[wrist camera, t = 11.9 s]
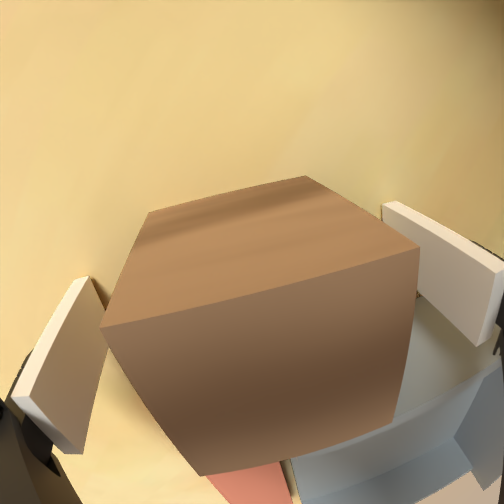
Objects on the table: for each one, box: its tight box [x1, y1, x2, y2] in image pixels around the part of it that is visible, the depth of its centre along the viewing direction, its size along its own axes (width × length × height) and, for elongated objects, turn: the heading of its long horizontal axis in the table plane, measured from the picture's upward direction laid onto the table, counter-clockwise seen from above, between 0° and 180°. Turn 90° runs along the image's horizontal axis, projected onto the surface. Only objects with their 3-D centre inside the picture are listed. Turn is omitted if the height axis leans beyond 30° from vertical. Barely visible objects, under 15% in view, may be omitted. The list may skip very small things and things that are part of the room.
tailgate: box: [206, 461, 293, 504], centre depth 18 cm, size 20×1×5 cm
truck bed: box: [290, 296, 504, 504], centre depth 16 cm, size 22×18×9 cm
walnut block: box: [99, 176, 420, 476], centre depth 10 cm, size 6×6×7 cm
